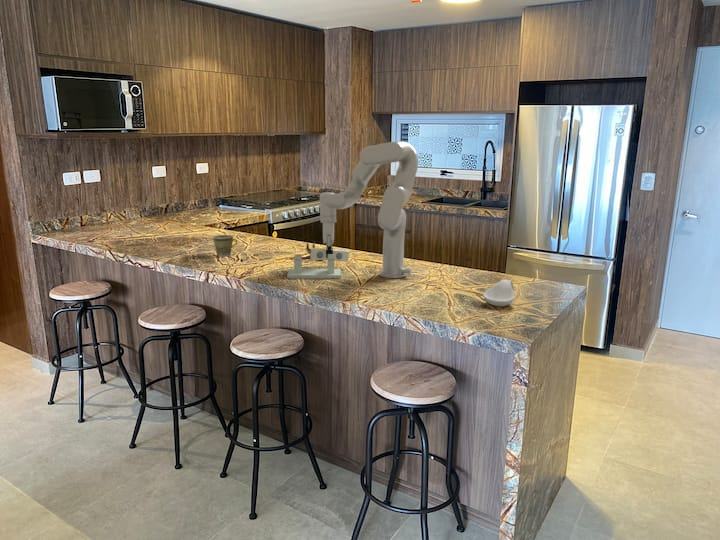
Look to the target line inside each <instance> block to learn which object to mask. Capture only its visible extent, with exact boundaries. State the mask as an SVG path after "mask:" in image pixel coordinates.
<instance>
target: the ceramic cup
mask: <svg viewBox="0 0 720 540" xmlns="http://www.w3.org/2000/svg"><path fill="white" fill-rule="evenodd" d="M212 239H213V244H214V246H215V247H214V248H215V251H216V256H217V257H218V258H225V257H226V256H228V257H231V254H232V249H233V248H234V246H236V245H237V244H238V240H237V238H234V236H233V235H229V234H217V235H214V236H213V237H212ZM233 241H235V243H234V244H233Z"/></svg>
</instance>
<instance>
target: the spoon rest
mask: <svg viewBox="0 0 720 540" xmlns="http://www.w3.org/2000/svg"><path fill="white" fill-rule="evenodd" d="M515 296H516V295H515V287H514V284H513V281H512V280H510V279H509V280H507V279H504V278H503V279H501V280H500V281H499V282H497V283H496V284H495V285H493V286H491V287H490V288H488V289H487V290H485V292H484V293H483V299H484V300H485V301H486V303H488V304H489V305H492V306H495V307H506V306H508V305H510V304H512V303H513V302H514V300H515V298H516V297H515Z"/></svg>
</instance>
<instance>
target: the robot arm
mask: <svg viewBox="0 0 720 540" xmlns="http://www.w3.org/2000/svg"><path fill="white" fill-rule="evenodd" d="M359 159H360V160H359V161H358V162H357V164H356V166H355V167H354V168H353V169H352V173H351V174H352V180H351V181H350V183H349V184H348V187H347V188H346V189H345V190H344V191H342V192H338V193H335V192H333V191H327V192H324V191H323V192H321V193H320V194H319V213H320V214H319V215H320V219H319V220H320V223H321V224H322V243H323V245H324V244H325V245H326V247H325V249H326V258H328V254H333V250H332V249H334V247H333V244H334V242H335V241H334V240H335V223H337V222H338V221H337V210H344V209H348V208H351V207H352V206H354V205H355V204H356V202H357V201H358V200H359V199H360V197H361V196H362V195H363V193H364V191H365V189H366V188H367V185H368V183H369V181H370V180H371V178H372V177H373V176H374V174H375V173H376V171H378V169H379V167H380V166H381V165H385V164H392V163H399V164H398V167H397V169H396V173H395V177H394V180H393V183H392V184H391V185H389V186H388V187H387V188H386V189H385V191H384V193H383V196H382V200H381V203H380V208H379V211H378V216H377V223H378V226H379V227H380V228H381V229H382V230H383V235H382V236H383V239H382V241H383V243H382V269H380V271H379V272H378V275H379V276H380V277H383V278H387V279H400V278H405V277H406V276H407V275H411V274H412V269H411V268H407V267H406V265H404V261H405V259H404V257H405V256H404V255H405V233H406V226H407V224H406V223H407V214H406V211H405V210H404V209H403V206H404V205H405V204H406V203H408V202H409V201H410V199H411V196H412V192H413V191H412V190H413V188H414V184H415V179H416V176H417V175H416V174H417V171H418V167H419V155H418V153H417V150H416V149H415V147H413V145H411V144H410V143H409V142H406V141H404V140H398V141H389V142H385V143H379V144H374V145H367V146H365V147H364V148H362V150H361V151H360V154H359Z"/></svg>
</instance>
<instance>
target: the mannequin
mask: <svg viewBox="0 0 720 540" xmlns="http://www.w3.org/2000/svg"><path fill="white" fill-rule="evenodd" d="M309 245H310V243H308V242H307V243H306V250H307V251H308V252H309V251H310V252H309V253H311V248H316V245H315V242H313V243H312V247H311V248H310V246H309ZM291 259H294V257H291V258H290V260H291ZM302 260H311V259H310V255H307V256H302Z"/></svg>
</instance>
